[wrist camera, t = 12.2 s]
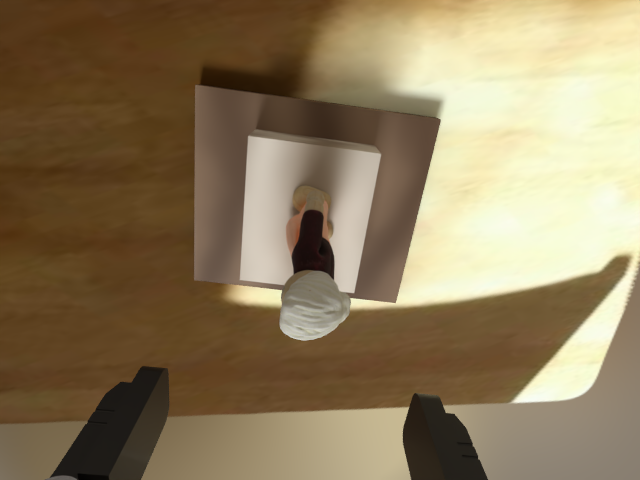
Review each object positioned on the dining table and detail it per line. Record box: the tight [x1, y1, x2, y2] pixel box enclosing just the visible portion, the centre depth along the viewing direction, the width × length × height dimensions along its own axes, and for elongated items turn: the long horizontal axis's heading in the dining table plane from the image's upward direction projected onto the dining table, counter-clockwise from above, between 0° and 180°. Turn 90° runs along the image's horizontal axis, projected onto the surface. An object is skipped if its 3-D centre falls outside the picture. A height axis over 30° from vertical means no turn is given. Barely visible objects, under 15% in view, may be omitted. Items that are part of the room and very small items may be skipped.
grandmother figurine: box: [280, 186, 351, 340], centre depth 22 cm, size 8×4×13 cm, turn 13°
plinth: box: [194, 84, 441, 303], centre depth 30 cm, size 18×16×5 cm
